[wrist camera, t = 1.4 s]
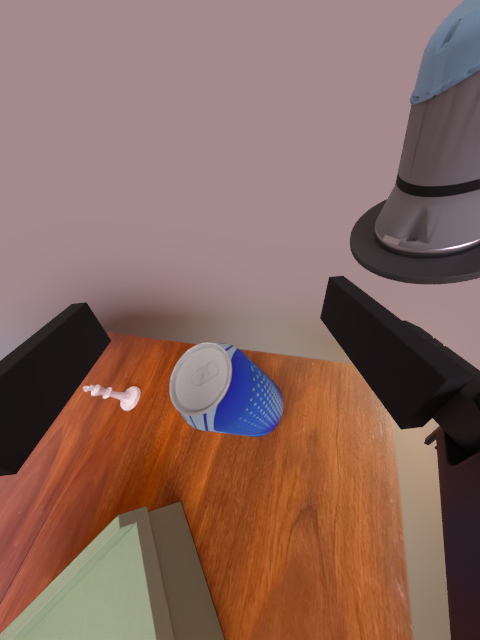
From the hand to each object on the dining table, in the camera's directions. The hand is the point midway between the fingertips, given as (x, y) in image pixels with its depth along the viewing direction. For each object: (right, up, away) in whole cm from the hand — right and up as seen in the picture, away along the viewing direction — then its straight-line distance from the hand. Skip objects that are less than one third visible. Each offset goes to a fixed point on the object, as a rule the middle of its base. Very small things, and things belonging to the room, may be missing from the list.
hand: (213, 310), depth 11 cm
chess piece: (-22, -18, +30) cm, 41 cm away
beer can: (+4, -14, +18) cm, 23 cm away
